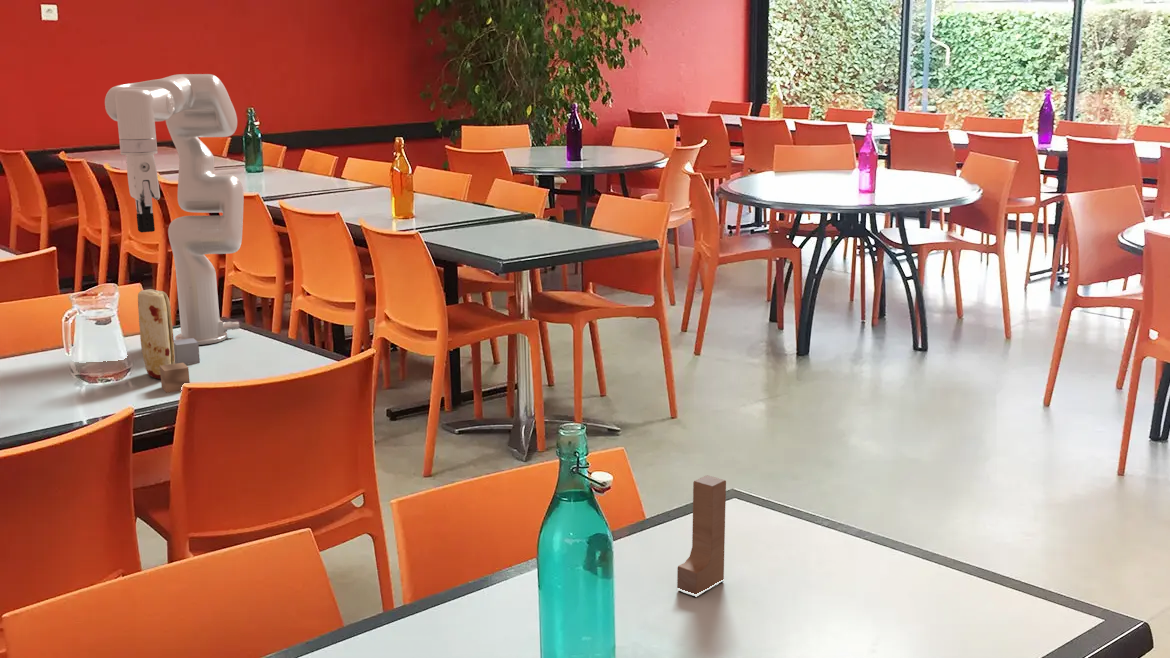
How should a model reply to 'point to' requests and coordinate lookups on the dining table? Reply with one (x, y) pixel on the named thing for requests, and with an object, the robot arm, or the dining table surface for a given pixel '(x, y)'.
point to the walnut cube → (174, 376)
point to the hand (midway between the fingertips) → (146, 231)
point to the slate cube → (186, 351)
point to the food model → (155, 330)
